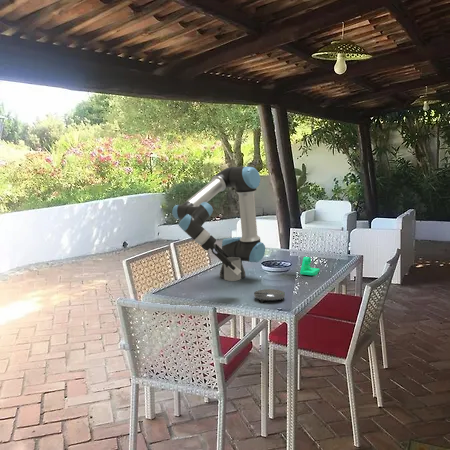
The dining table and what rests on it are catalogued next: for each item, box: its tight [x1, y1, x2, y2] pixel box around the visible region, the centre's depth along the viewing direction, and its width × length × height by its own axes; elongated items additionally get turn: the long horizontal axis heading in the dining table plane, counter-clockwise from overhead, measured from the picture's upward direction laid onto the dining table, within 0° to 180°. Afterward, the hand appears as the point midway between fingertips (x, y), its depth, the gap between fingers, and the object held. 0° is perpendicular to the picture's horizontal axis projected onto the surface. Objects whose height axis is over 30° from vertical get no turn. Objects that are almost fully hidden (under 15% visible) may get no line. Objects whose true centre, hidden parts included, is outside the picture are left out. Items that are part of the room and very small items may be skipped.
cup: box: [224, 257, 242, 282], centre depth 244 cm, size 8×8×10 cm
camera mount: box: [299, 256, 321, 276], centre depth 292 cm, size 12×8×10 cm, turn 148°
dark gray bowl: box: [253, 288, 286, 303], centre depth 243 cm, size 15×15×3 cm
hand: (239, 271), depth 244 cm, fingers closed on cup, 8 cm apart
